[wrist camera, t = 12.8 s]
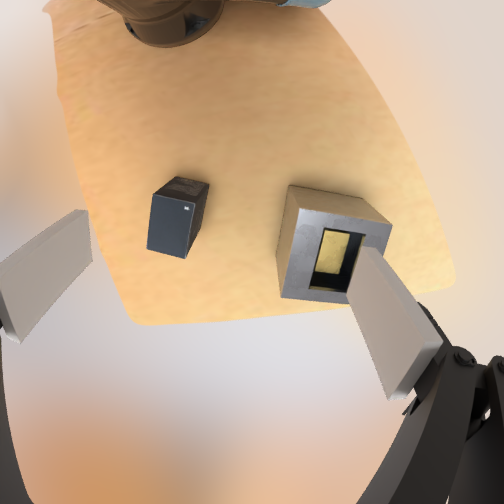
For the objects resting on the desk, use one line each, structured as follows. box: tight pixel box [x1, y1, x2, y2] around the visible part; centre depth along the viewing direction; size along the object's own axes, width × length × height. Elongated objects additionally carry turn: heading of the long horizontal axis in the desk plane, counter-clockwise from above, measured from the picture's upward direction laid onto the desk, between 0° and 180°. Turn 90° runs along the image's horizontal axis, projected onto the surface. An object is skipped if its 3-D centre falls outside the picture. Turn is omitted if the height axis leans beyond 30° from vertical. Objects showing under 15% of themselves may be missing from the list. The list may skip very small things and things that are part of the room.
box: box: [146, 177, 209, 259], centre depth 40 cm, size 8×6×11 cm
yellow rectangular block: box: [314, 227, 350, 274], centre depth 42 cm, size 6×4×8 cm, turn 172°
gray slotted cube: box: [276, 185, 393, 304], centre depth 41 cm, size 12×12×12 cm
